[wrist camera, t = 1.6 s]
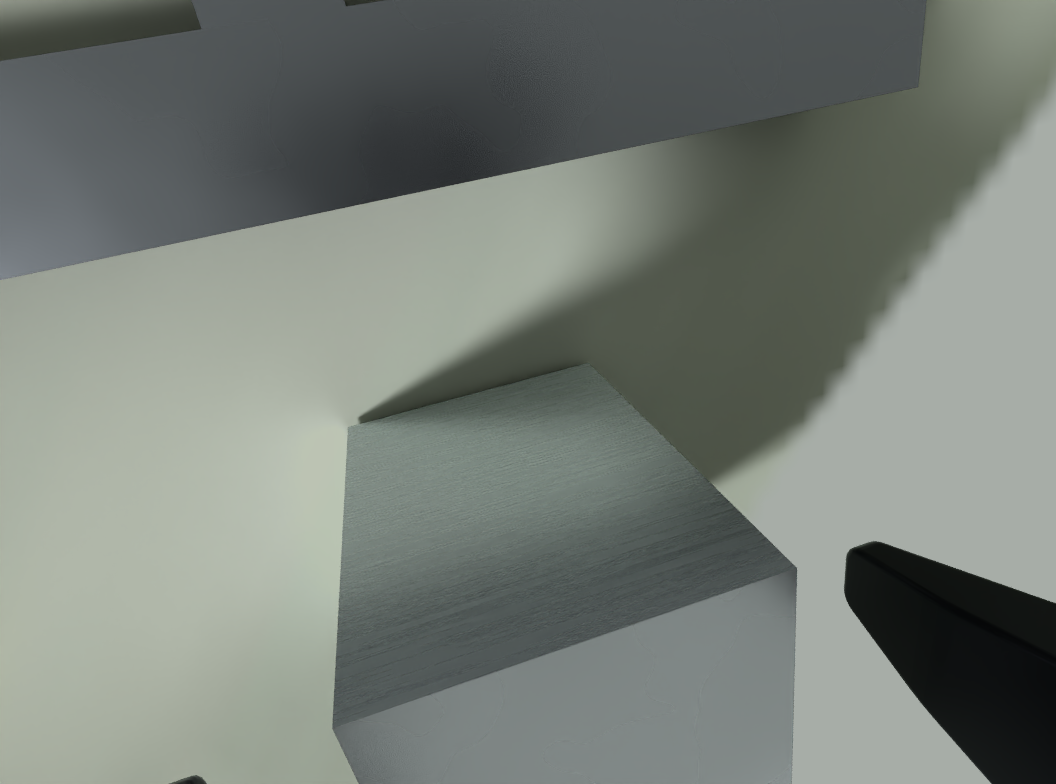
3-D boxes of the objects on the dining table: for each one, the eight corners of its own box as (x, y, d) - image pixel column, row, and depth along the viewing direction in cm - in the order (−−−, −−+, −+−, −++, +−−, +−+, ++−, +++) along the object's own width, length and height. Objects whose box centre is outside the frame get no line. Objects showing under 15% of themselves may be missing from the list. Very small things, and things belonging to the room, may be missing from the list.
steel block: (614, 549, 13) (790, 834, 8) (413, 614, 12) (451, 977, 7) (588, 363, 11) (797, 567, 6) (347, 426, 10) (332, 728, 5)
